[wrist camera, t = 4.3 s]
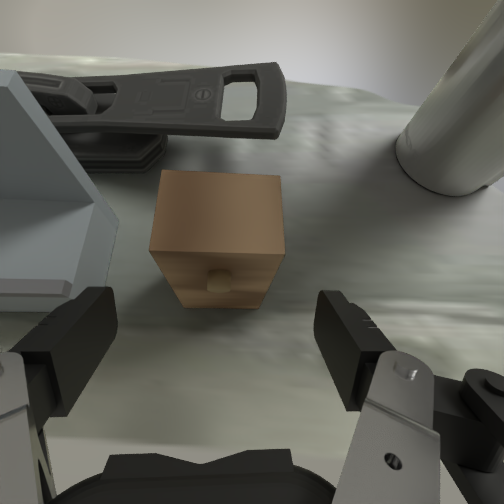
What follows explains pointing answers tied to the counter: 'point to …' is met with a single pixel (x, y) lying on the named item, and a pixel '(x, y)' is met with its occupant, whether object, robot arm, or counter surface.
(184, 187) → the cabinet
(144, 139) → the zipper pull
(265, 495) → the robot arm
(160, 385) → the counter surface
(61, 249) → the board
